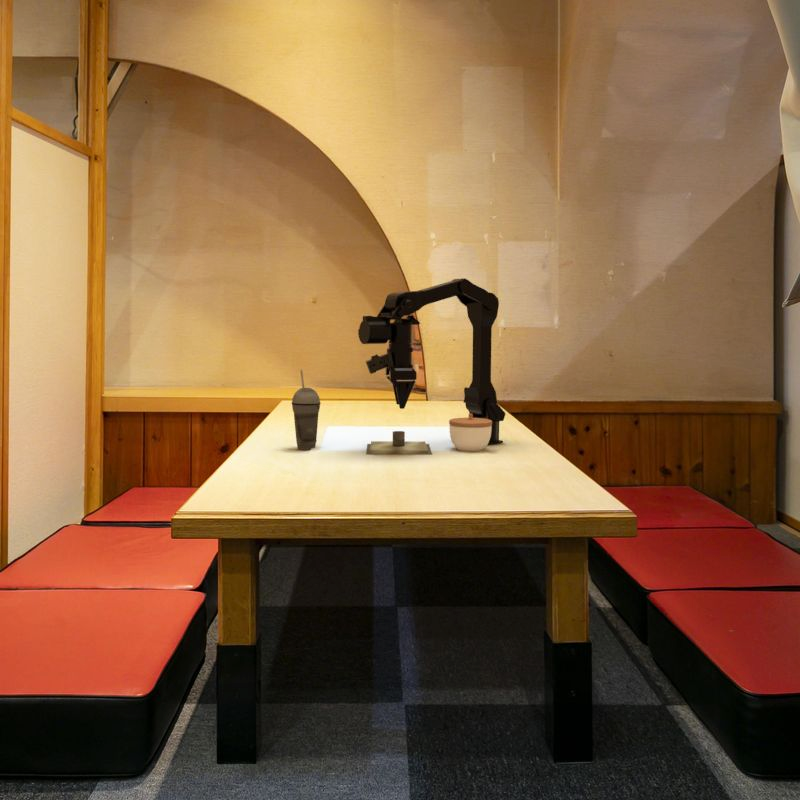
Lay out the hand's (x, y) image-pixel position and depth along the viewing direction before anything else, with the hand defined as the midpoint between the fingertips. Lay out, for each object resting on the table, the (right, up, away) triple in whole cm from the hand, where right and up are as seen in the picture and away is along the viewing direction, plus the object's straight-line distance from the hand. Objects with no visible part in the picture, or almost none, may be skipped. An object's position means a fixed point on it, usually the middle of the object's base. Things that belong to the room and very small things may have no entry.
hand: (400, 406), depth 190 cm
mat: (0, -11, +2) cm, 11 cm away
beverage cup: (-24, -11, +4) cm, 26 cm away
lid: (0, -11, +2) cm, 11 cm away
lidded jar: (+18, -11, +2) cm, 21 cm away
